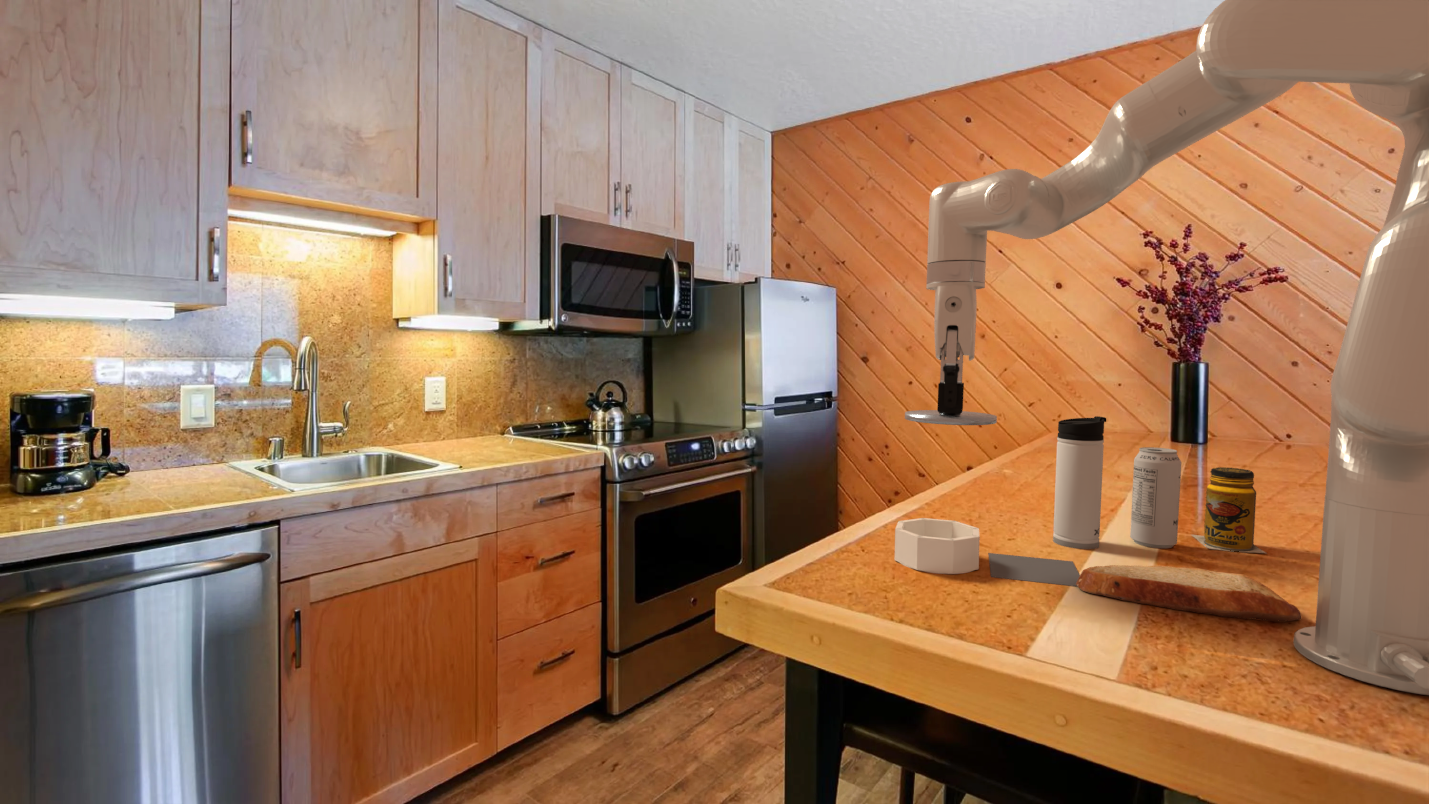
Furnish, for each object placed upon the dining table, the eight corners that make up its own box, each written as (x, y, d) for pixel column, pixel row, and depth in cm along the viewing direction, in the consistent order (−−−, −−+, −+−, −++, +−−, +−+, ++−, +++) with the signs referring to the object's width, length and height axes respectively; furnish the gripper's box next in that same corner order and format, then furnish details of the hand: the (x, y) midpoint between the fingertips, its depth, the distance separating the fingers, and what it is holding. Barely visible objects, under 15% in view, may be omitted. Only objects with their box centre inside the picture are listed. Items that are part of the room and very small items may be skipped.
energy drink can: (1184, 552, 99) (1190, 453, 98) (1141, 550, 100) (1146, 452, 98) (1164, 541, 105) (1169, 447, 103) (1123, 539, 106) (1127, 446, 104)
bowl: (978, 580, 86) (980, 543, 86) (892, 570, 90) (892, 534, 90) (977, 556, 97) (978, 522, 96) (899, 548, 101) (900, 516, 100)
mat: (1085, 590, 83) (1085, 587, 83) (990, 579, 87) (991, 576, 87) (1072, 564, 93) (1072, 561, 93) (988, 555, 97) (988, 552, 97)
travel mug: (1109, 551, 99) (1116, 419, 98) (1065, 551, 99) (1071, 418, 98) (1087, 539, 105) (1092, 414, 104) (1045, 539, 105) (1050, 414, 104)
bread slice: (1062, 583, 84) (1064, 554, 84) (1160, 569, 90) (1162, 542, 90) (1210, 643, 67) (1214, 607, 67) (1318, 620, 74) (1322, 588, 73)
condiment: (1208, 550, 100) (1213, 471, 99) (1190, 535, 108) (1194, 462, 107) (1267, 555, 98) (1272, 475, 97) (1244, 539, 106) (1249, 465, 105)
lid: (998, 427, 84) (1000, 381, 83) (900, 422, 88) (902, 378, 88) (995, 418, 95) (997, 377, 95) (908, 414, 99) (910, 375, 99)
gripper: (986, 270, 81) (979, 419, 83) (984, 282, 96) (978, 408, 98) (922, 272, 84) (917, 416, 85) (930, 283, 99) (925, 406, 101)
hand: (950, 410), depth 92 cm, fingers closed on lid, 2 cm apart
